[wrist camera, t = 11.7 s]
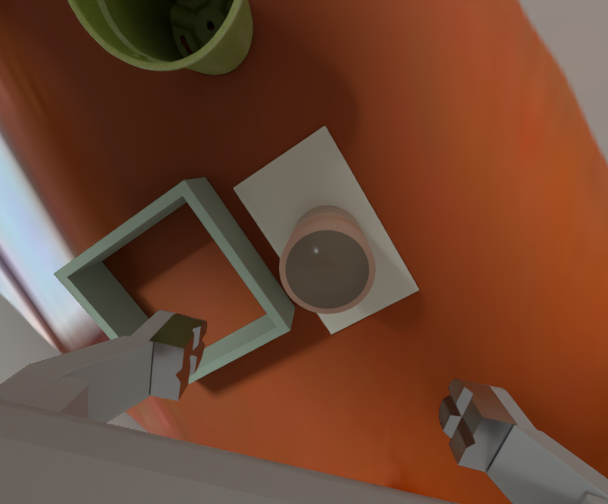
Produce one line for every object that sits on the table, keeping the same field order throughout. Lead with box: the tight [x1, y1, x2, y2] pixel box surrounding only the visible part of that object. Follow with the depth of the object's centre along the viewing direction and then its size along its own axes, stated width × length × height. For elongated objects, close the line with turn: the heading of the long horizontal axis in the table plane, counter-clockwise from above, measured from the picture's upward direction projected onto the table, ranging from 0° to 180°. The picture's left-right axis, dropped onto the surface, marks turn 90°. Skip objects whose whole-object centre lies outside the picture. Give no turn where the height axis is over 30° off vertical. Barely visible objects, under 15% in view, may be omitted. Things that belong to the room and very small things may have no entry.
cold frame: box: [54, 177, 295, 384], centre depth 27 cm, size 14×14×4 cm
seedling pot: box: [279, 205, 376, 314], centre depth 23 cm, size 6×6×8 cm
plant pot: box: [67, 0, 253, 75], centre depth 18 cm, size 9×9×9 cm
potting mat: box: [233, 126, 419, 334], centre depth 26 cm, size 16×9×1 cm, turn 32°
